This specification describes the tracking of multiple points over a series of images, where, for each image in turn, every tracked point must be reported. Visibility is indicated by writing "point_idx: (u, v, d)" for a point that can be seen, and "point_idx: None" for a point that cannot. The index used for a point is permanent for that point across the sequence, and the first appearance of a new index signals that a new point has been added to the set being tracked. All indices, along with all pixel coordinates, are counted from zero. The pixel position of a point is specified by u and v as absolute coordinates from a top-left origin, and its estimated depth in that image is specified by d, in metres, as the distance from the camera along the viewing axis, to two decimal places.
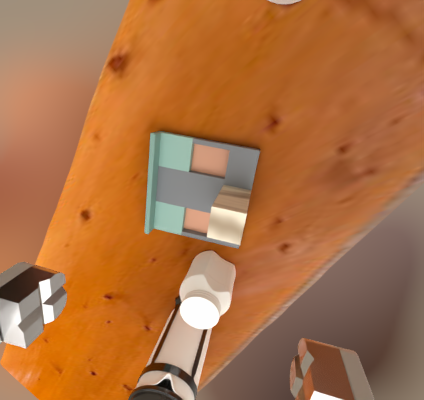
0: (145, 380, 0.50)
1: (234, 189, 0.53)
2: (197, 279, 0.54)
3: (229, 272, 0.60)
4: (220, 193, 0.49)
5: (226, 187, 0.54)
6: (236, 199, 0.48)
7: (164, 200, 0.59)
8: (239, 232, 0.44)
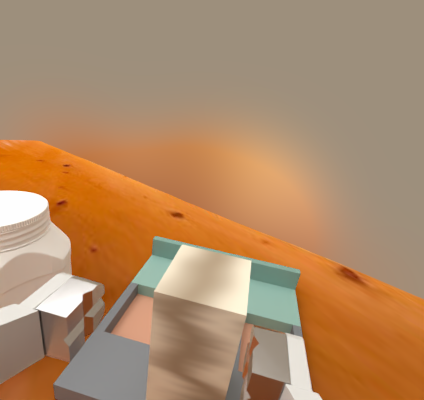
0: None
1: None
2: (61, 245, 0.26)
3: None
4: None
5: None
6: None
7: None
8: (190, 294, 0.17)
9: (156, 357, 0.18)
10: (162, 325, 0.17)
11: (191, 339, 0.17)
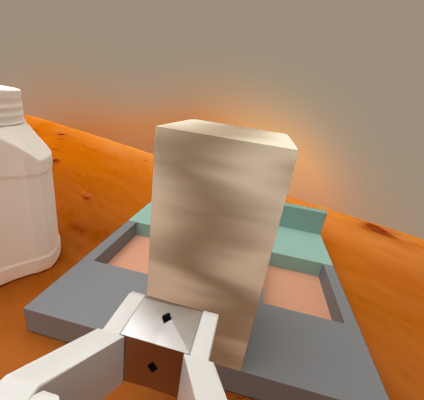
0: None
1: None
2: (38, 146, 0.21)
3: None
4: None
5: None
6: None
7: None
8: (210, 133, 0.11)
9: (159, 246, 0.13)
10: (168, 187, 0.12)
11: (211, 208, 0.12)
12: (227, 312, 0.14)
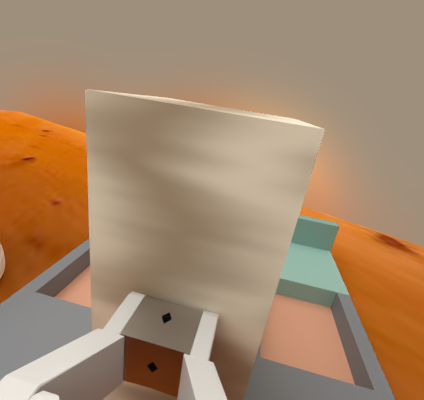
0: None
1: None
2: None
3: None
4: None
5: None
6: None
7: None
8: (177, 103, 0.07)
9: (105, 279, 0.09)
10: (112, 191, 0.07)
11: (180, 224, 0.07)
12: None
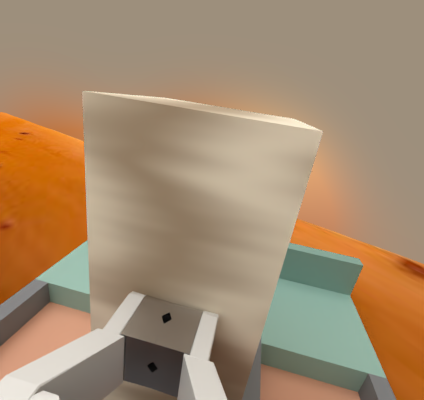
0: None
1: None
2: None
3: None
4: None
5: None
6: None
7: None
8: (175, 105, 0.07)
9: (103, 280, 0.09)
10: (110, 193, 0.07)
11: (177, 226, 0.07)
12: None
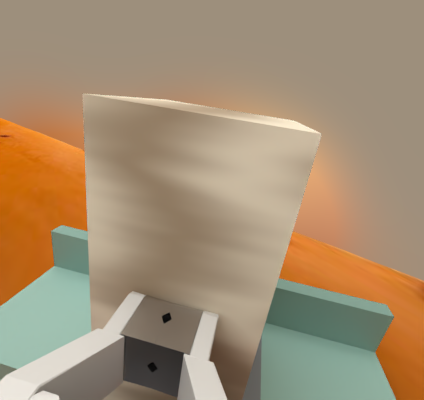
0: None
1: None
2: None
3: None
4: None
5: None
6: None
7: None
8: (175, 107, 0.07)
9: (104, 282, 0.09)
10: (110, 195, 0.07)
11: (178, 228, 0.07)
12: None
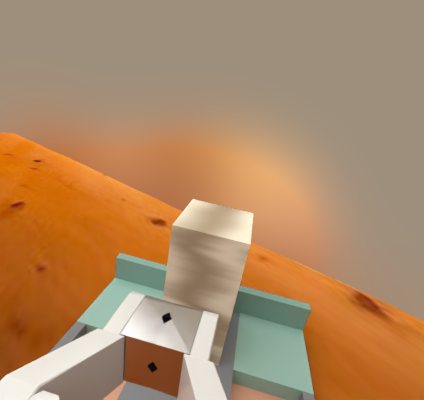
0: None
1: None
2: None
3: None
4: None
5: None
6: None
7: None
8: (203, 229, 0.20)
9: (170, 288, 0.21)
10: (177, 256, 0.20)
11: (202, 269, 0.20)
12: None
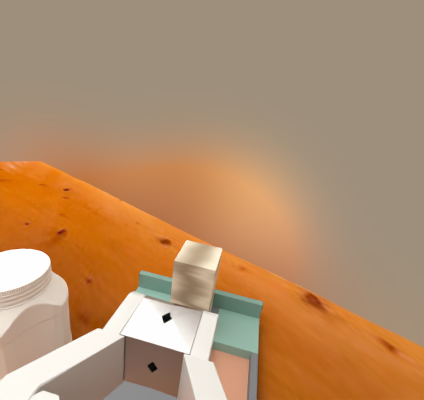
0: None
1: None
2: (60, 293, 0.33)
3: None
4: (215, 285, 0.43)
5: (210, 309, 0.44)
6: (213, 291, 0.40)
7: None
8: (191, 262, 0.36)
9: (174, 294, 0.38)
10: (177, 277, 0.37)
11: (191, 283, 0.37)
12: None
